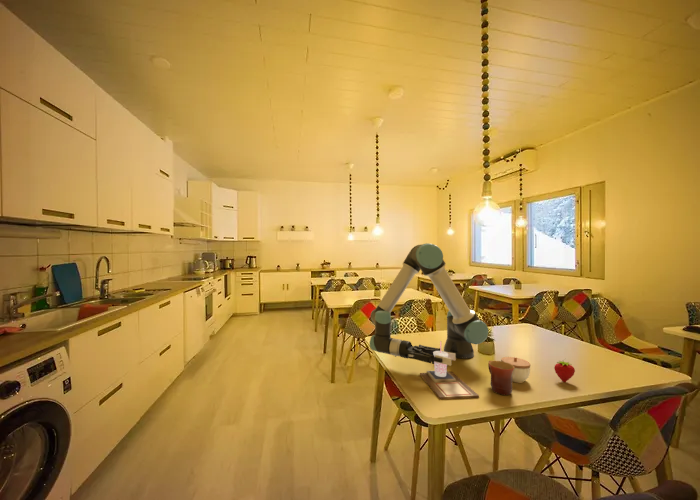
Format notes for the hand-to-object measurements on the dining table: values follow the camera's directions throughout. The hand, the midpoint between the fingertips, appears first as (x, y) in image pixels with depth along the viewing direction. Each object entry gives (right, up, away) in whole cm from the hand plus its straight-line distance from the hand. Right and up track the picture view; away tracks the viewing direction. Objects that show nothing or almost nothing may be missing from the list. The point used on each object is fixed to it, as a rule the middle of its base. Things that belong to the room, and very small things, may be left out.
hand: (453, 359), depth 114 cm
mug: (+16, -10, -6) cm, 19 cm away
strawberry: (+47, -10, +1) cm, 48 cm away
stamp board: (-4, -9, -3) cm, 10 cm away
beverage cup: (-4, -8, +3) cm, 9 cm away
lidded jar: (+28, -10, +3) cm, 30 cm away
